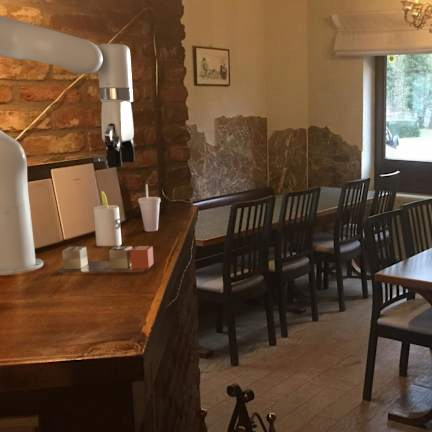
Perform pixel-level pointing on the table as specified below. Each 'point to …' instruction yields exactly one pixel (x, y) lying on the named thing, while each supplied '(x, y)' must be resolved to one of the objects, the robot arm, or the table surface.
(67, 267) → the tile
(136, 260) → the three-striped orange cube
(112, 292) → the table surface
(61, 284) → the table surface
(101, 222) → the candle
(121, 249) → the tile
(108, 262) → the letter board
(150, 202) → the smoothie
